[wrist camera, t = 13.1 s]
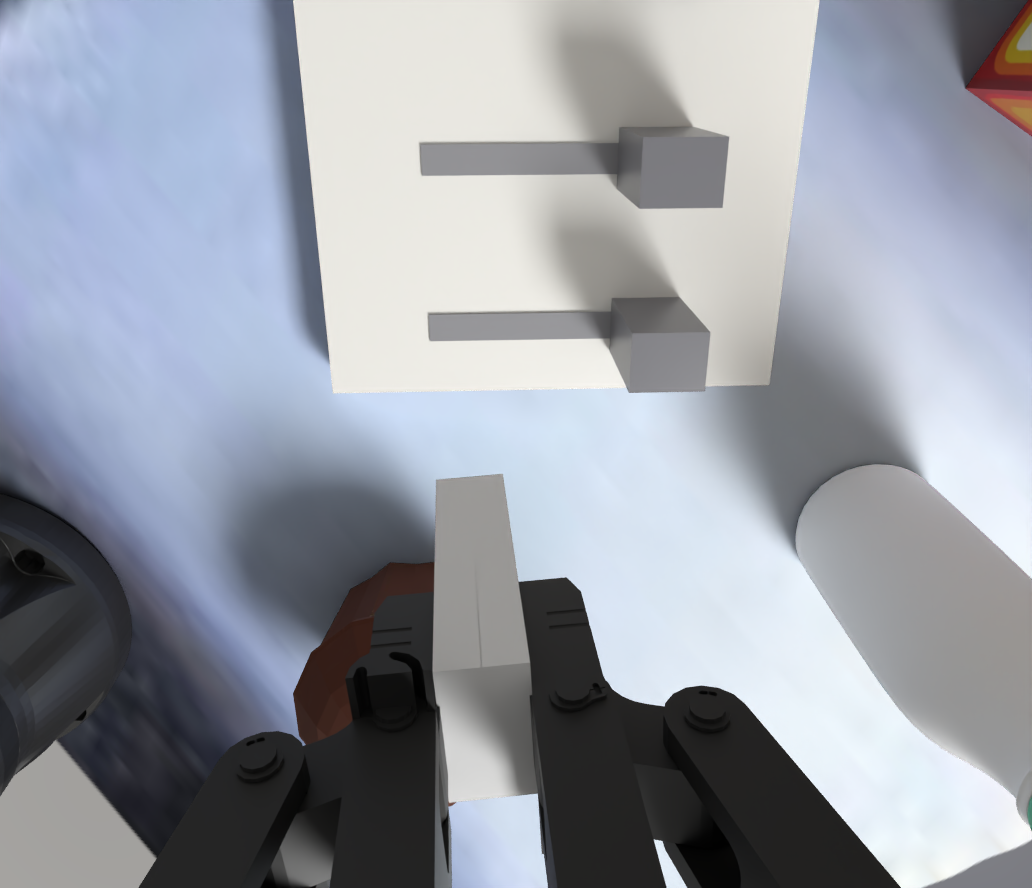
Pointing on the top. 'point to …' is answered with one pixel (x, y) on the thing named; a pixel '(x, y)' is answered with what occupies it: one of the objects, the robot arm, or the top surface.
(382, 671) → the robot arm
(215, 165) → the top surface
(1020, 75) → the baking soda box
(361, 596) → the muffin
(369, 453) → the top surface
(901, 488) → the milk bottle
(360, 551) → the top surface
